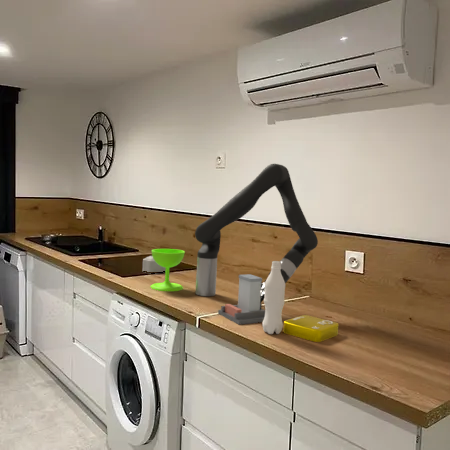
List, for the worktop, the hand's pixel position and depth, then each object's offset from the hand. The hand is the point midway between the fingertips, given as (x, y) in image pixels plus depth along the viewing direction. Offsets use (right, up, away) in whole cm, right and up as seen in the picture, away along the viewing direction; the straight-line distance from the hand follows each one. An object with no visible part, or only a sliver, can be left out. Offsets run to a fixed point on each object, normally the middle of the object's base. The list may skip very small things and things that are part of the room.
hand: (255, 304), depth 187 cm
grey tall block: (-3, -3, -1) cm, 4 cm away
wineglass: (-40, 0, +44) cm, 60 cm away
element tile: (+18, -8, -18) cm, 27 cm away
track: (-3, -5, -1) cm, 6 cm away
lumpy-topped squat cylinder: (-52, +4, +86) cm, 101 cm away
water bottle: (+5, -7, -20) cm, 21 cm away
